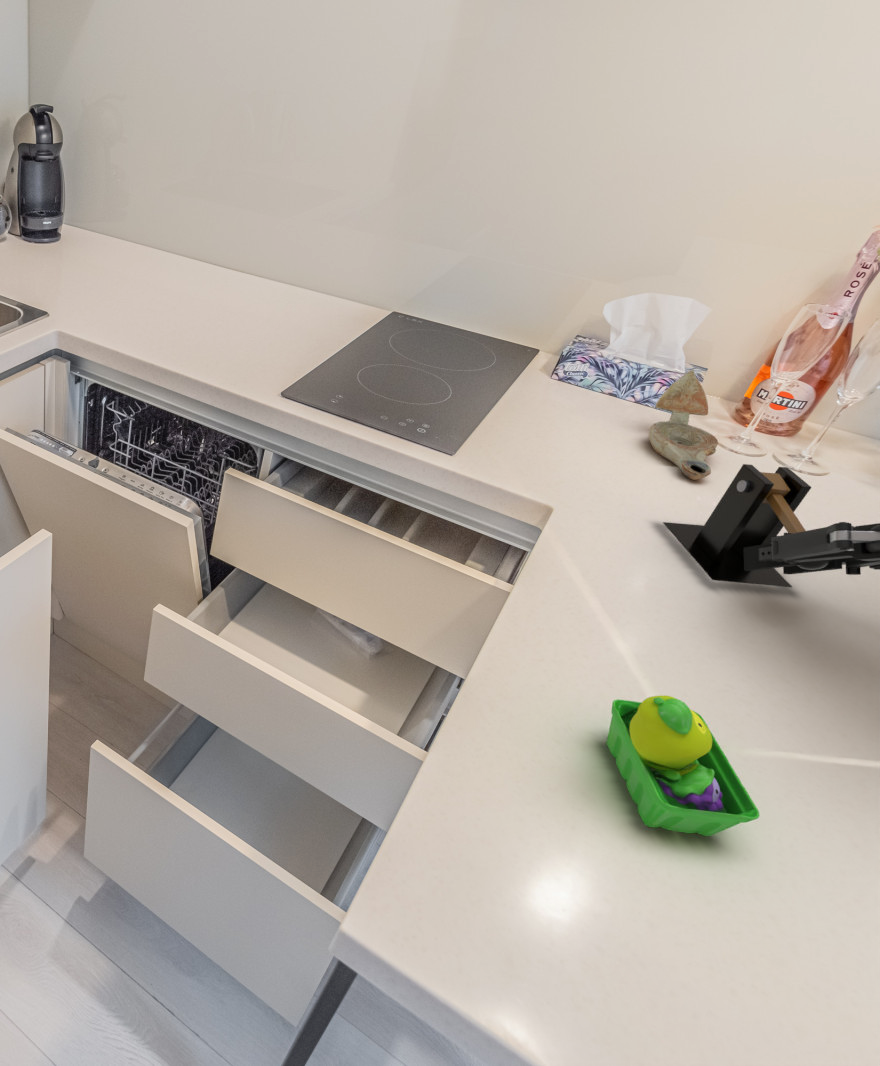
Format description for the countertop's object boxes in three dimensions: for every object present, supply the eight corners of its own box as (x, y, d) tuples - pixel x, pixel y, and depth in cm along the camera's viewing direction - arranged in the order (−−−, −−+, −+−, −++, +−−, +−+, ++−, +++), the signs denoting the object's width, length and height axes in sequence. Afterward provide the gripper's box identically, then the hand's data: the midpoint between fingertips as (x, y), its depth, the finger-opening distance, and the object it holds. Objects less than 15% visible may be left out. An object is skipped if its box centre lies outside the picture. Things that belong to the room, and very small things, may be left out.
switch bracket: (786, 595, 91) (854, 507, 83) (707, 587, 92) (767, 500, 84) (729, 535, 100) (785, 452, 93) (658, 529, 101) (708, 446, 93)
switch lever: (824, 577, 83) (850, 557, 80) (789, 574, 83) (814, 554, 81) (768, 491, 92) (789, 470, 89) (736, 489, 92) (756, 467, 89)
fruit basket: (732, 855, 63) (813, 772, 57) (618, 836, 64) (684, 753, 58) (671, 745, 72) (735, 662, 66) (572, 730, 73) (625, 648, 67)
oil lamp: (691, 431, 124) (723, 375, 118) (723, 498, 108) (763, 436, 102) (631, 421, 126) (659, 365, 120) (654, 484, 110) (688, 423, 104)
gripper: (891, 564, 66) (692, 586, 89) (1102, 582, 64) (844, 599, 87) (886, 480, 67) (691, 523, 90) (1093, 496, 65) (841, 535, 89)
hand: (767, 560), depth 89 cm, fingers closed on switch lever, 4 cm apart
